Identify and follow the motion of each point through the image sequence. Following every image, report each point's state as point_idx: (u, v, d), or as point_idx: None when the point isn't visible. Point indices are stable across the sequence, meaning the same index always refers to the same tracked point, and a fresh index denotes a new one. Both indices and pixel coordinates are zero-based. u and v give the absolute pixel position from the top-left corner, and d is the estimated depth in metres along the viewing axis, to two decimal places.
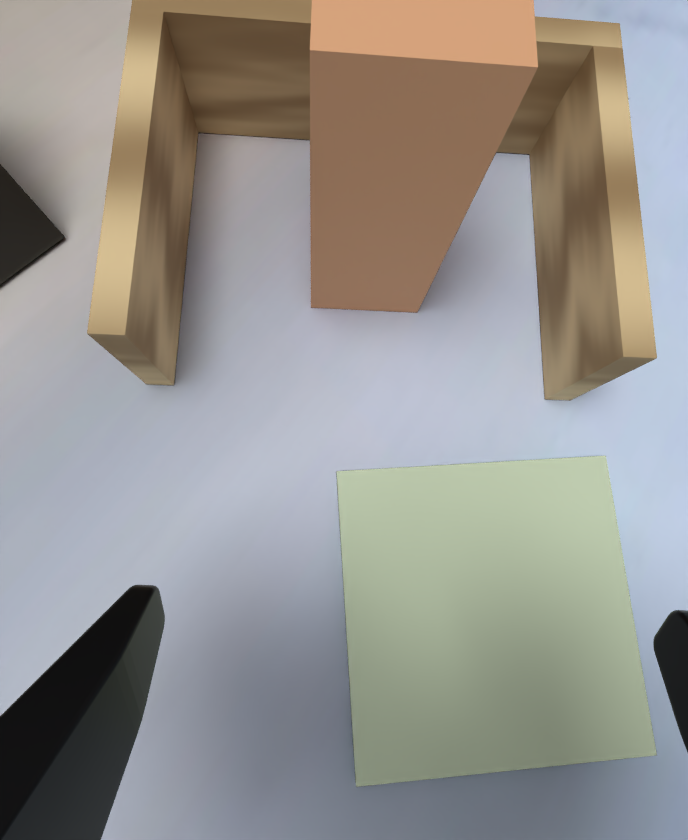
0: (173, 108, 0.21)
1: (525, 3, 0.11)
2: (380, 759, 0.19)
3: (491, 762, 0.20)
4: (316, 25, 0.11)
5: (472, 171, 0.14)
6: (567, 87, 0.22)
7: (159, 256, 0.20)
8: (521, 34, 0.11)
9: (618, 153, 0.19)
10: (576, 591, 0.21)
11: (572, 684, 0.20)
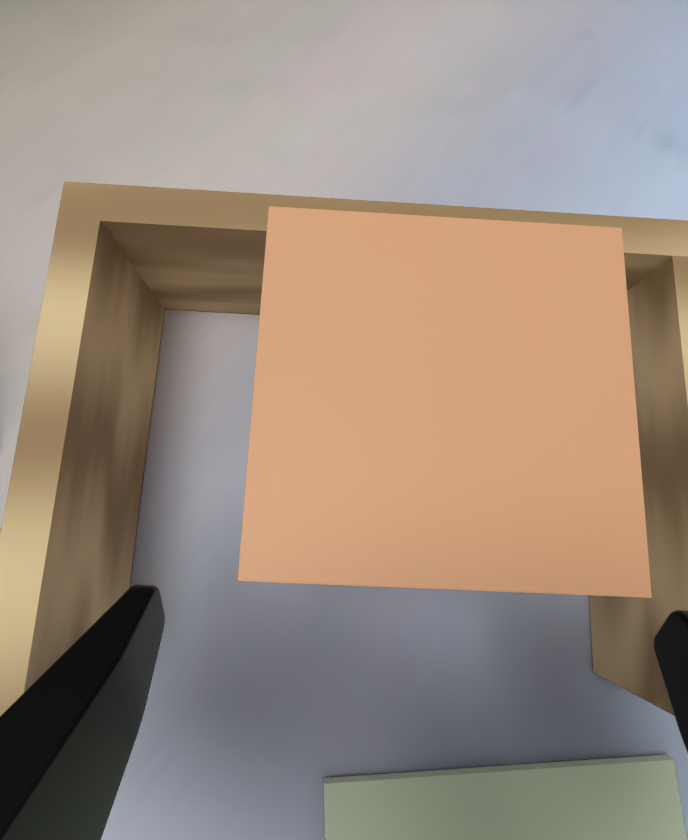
0: (119, 323, 0.16)
1: (626, 456, 0.06)
2: None
3: None
4: (253, 525, 0.06)
5: None
6: (631, 286, 0.17)
7: (92, 533, 0.15)
8: (619, 525, 0.06)
9: None
10: None
11: None
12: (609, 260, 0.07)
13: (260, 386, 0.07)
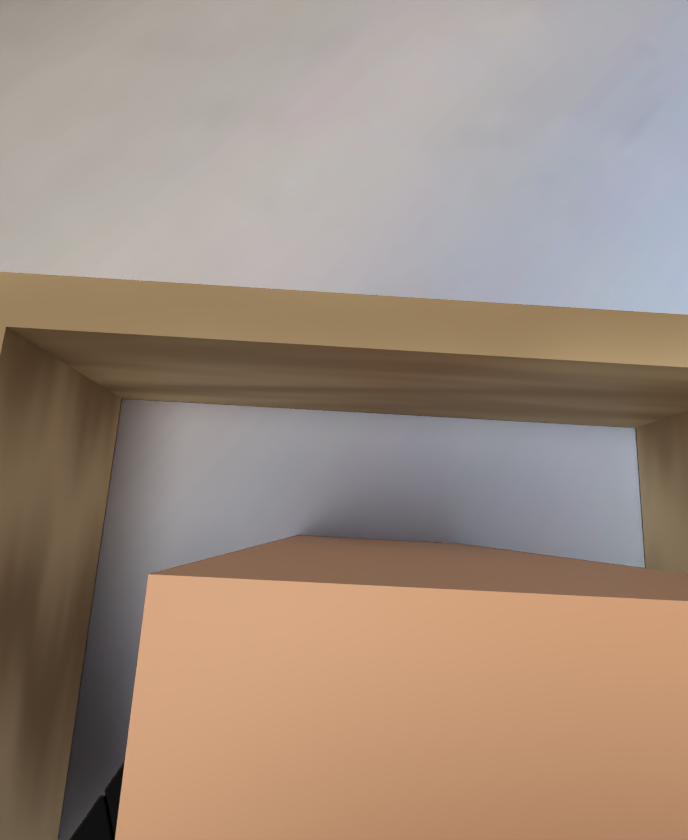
0: (45, 449, 0.12)
1: None
2: None
3: None
4: None
5: None
6: None
7: None
8: None
9: None
10: None
11: None
12: None
13: None
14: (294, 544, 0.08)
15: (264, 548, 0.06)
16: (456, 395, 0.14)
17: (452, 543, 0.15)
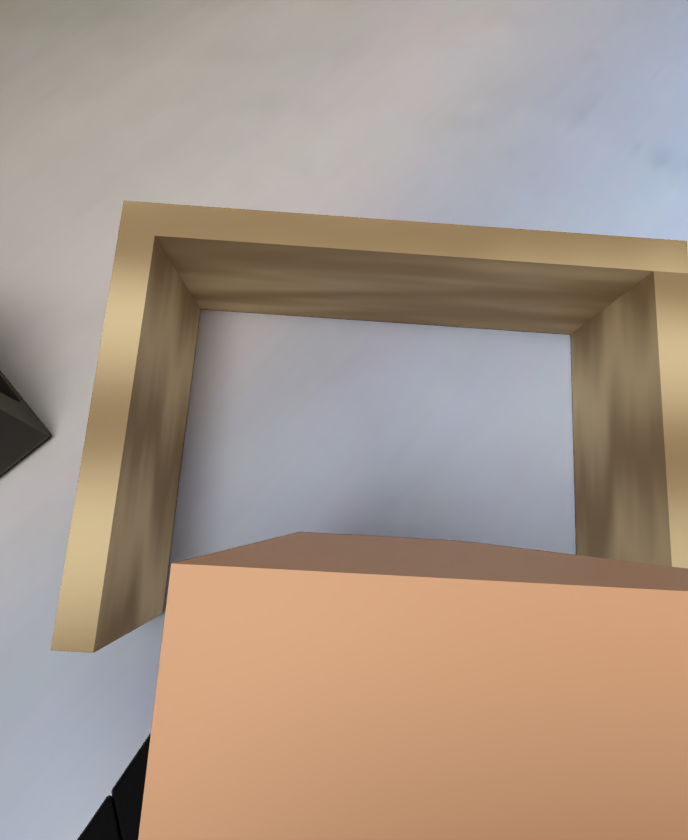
0: (167, 323, 0.19)
1: None
2: None
3: None
4: None
5: None
6: (619, 295, 0.19)
7: (144, 505, 0.17)
8: None
9: (680, 413, 0.16)
10: None
11: None
12: None
13: None
14: (300, 539, 0.08)
15: (272, 542, 0.06)
16: (437, 298, 0.20)
17: (454, 540, 0.15)
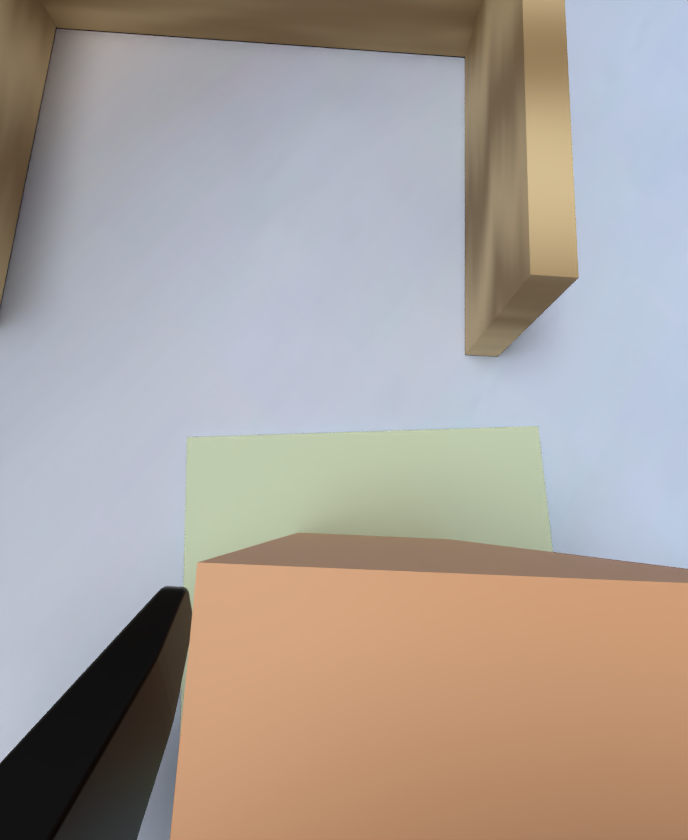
0: None
1: None
2: None
3: None
4: None
5: None
6: None
7: None
8: None
9: (543, 9, 0.14)
10: None
11: None
12: None
13: None
14: (298, 540, 0.09)
15: (273, 544, 0.07)
16: None
17: (444, 539, 0.16)
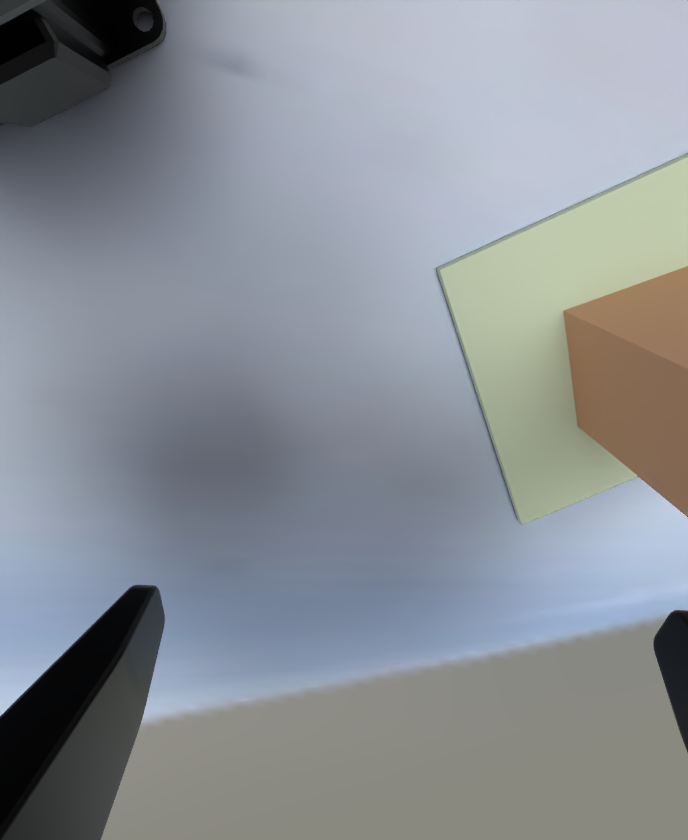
0: None
1: None
2: (470, 286, 0.17)
3: (490, 396, 0.19)
4: None
5: None
6: None
7: None
8: None
9: None
10: None
11: (569, 446, 0.21)
12: None
13: None
14: None
15: None
16: None
17: None
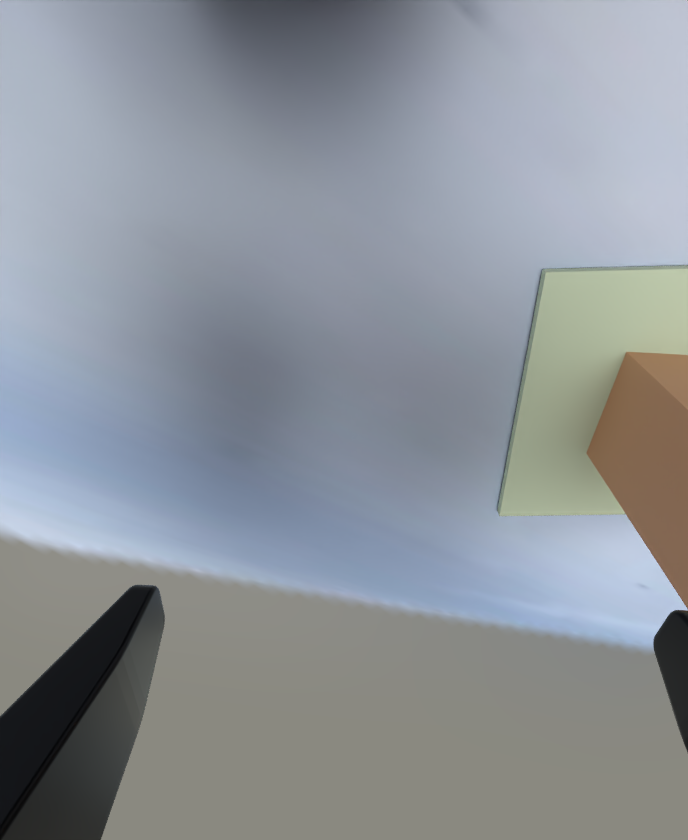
0: None
1: None
2: (563, 298, 0.19)
3: (530, 398, 0.21)
4: None
5: None
6: None
7: None
8: None
9: None
10: None
11: (571, 467, 0.23)
12: None
13: None
14: None
15: None
16: None
17: None
